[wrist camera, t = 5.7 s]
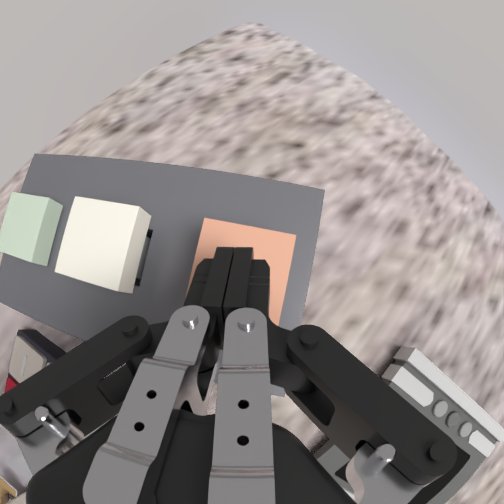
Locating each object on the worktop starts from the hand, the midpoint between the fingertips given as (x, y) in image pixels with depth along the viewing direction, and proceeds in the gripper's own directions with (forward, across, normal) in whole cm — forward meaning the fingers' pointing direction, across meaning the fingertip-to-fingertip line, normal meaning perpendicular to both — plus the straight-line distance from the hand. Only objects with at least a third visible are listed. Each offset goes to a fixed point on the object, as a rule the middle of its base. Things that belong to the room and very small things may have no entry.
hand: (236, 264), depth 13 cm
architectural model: (-12, +30, +33) cm, 46 cm away
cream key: (+7, +9, +5) cm, 13 cm away
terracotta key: (+6, 0, +6) cm, 9 cm away
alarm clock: (-1, -15, +23) cm, 27 cm away
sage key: (+9, +18, +5) cm, 21 cm away
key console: (+11, +9, +9) cm, 17 cm away
